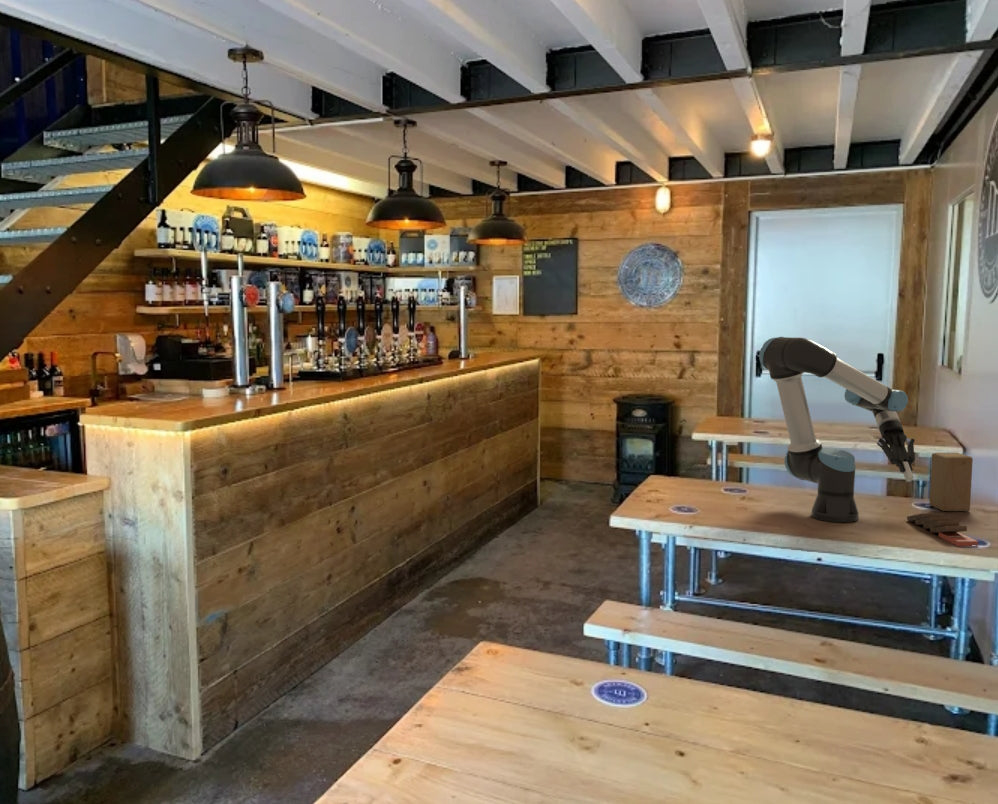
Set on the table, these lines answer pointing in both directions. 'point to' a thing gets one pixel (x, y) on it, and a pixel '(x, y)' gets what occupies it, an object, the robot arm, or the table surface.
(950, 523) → the tile
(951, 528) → the tile
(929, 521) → the tile
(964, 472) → the wooden block
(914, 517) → the tile
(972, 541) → the end tile
